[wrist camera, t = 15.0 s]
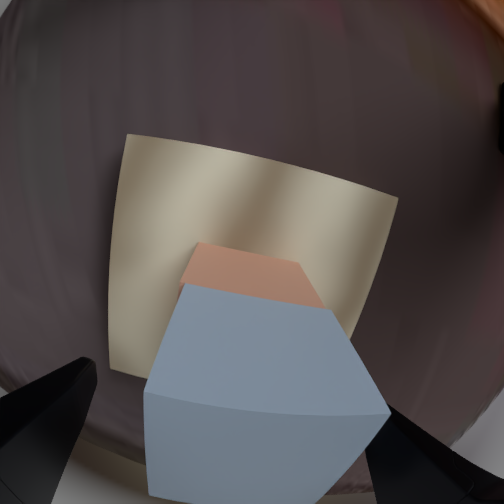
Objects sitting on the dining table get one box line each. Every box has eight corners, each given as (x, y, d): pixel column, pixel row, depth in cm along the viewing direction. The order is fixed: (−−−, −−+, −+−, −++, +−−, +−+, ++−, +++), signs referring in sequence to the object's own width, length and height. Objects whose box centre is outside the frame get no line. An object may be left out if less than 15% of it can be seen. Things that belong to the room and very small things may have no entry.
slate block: (331, 309, 10) (391, 413, 5) (290, 408, 11) (310, 507, 6) (185, 282, 9) (143, 391, 4) (171, 391, 11) (149, 495, 6)
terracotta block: (298, 262, 15) (326, 309, 10) (273, 344, 16) (285, 408, 11) (198, 241, 14) (179, 281, 9) (184, 328, 15) (167, 391, 11)
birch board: (381, 193, 16) (398, 197, 14) (312, 385, 20) (318, 403, 18) (140, 137, 14) (127, 133, 12) (119, 351, 18) (110, 368, 16)
